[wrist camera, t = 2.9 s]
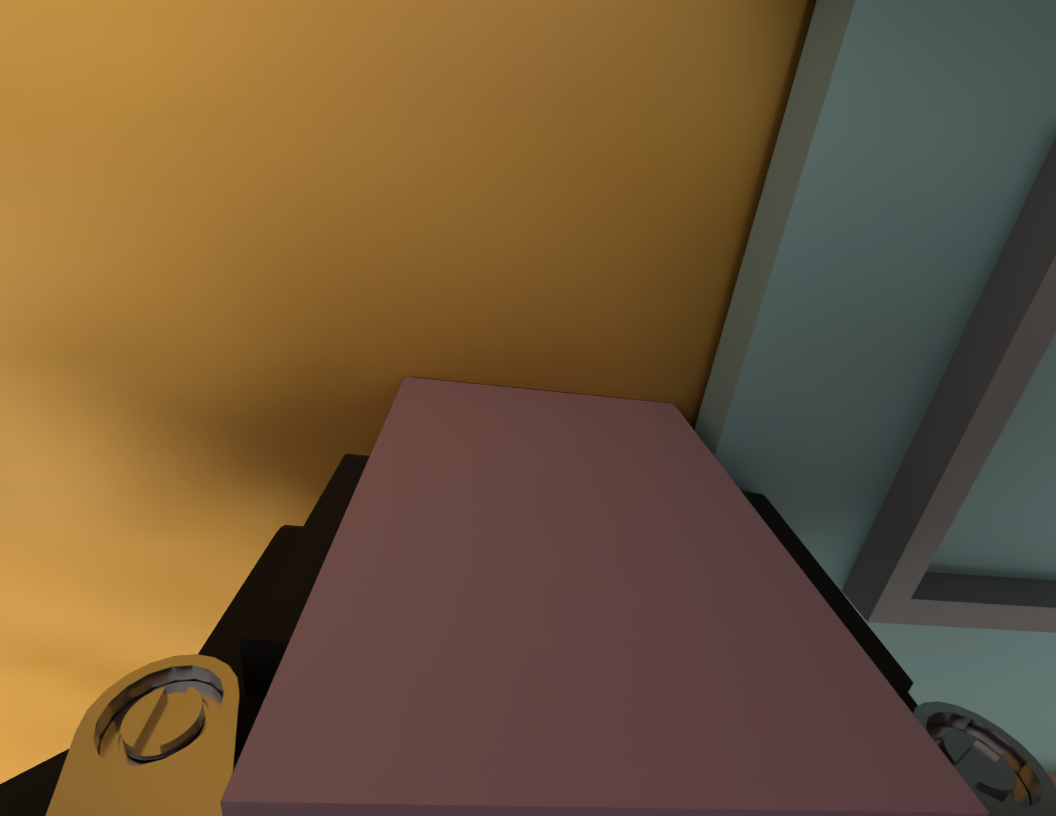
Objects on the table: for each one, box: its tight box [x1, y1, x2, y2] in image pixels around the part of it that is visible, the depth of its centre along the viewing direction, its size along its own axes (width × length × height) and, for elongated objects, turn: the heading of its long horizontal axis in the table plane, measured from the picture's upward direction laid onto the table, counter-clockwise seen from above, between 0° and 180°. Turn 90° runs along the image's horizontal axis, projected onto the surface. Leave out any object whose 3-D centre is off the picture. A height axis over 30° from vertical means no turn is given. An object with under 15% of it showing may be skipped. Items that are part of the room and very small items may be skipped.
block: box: [220, 377, 989, 816], centre depth 8 cm, size 5×5×7 cm
